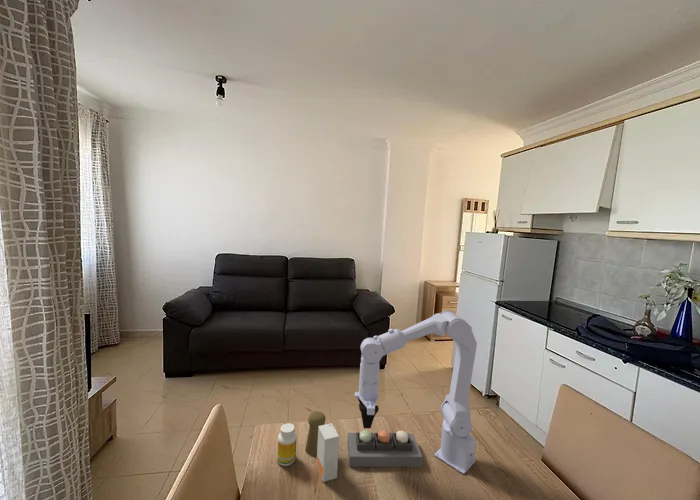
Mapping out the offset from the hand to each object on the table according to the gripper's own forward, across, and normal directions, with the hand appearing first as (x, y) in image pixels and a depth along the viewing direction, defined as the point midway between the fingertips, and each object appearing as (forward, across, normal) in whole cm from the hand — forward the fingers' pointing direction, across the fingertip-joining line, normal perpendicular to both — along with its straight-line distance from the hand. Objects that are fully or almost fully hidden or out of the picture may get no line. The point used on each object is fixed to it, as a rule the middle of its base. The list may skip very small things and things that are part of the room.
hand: (366, 423), depth 90 cm
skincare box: (+10, +7, -11) cm, 16 cm away
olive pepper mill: (+10, -2, -15) cm, 18 cm away
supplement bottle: (+10, +2, -23) cm, 25 cm away
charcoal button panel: (+9, 0, +6) cm, 11 cm away
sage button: (+5, 0, 0) cm, 5 cm away
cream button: (+5, 0, +11) cm, 12 cm away
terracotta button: (+5, 0, +6) cm, 7 cm away
